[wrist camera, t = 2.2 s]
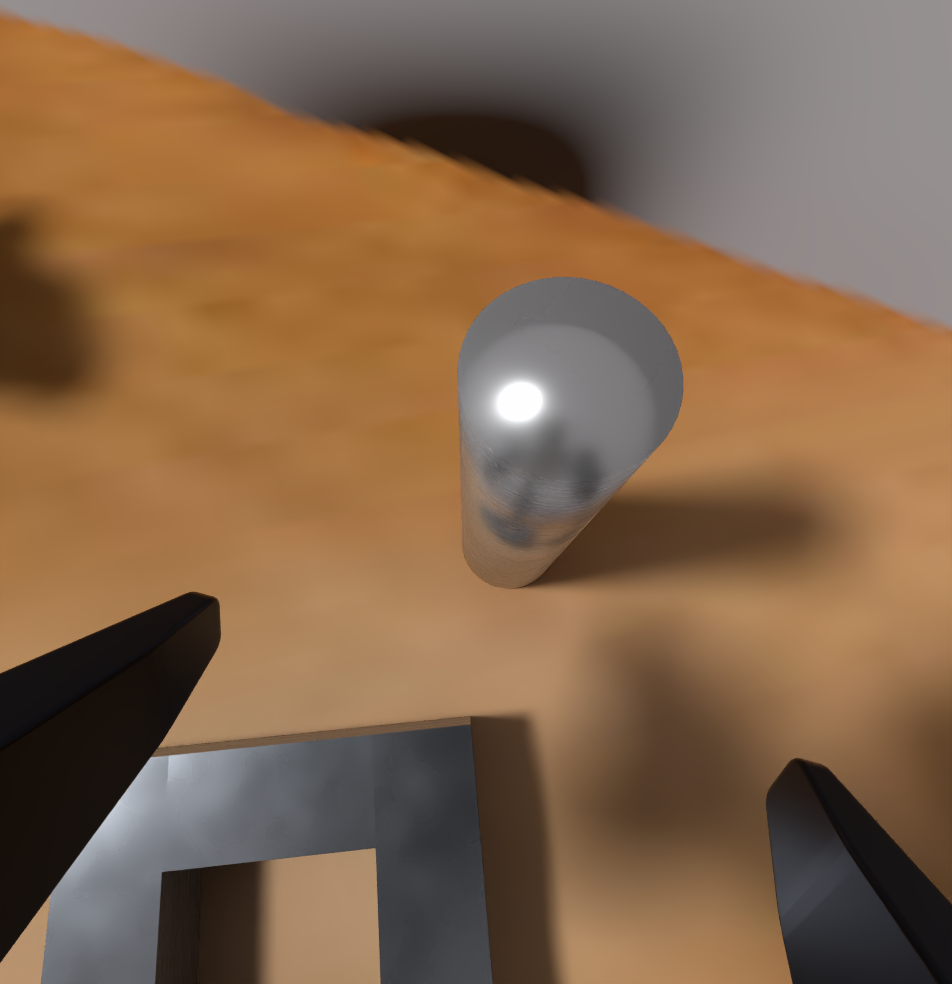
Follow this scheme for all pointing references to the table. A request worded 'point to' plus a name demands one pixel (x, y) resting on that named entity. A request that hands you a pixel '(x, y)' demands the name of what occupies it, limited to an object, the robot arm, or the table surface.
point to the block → (283, 850)
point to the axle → (555, 417)
